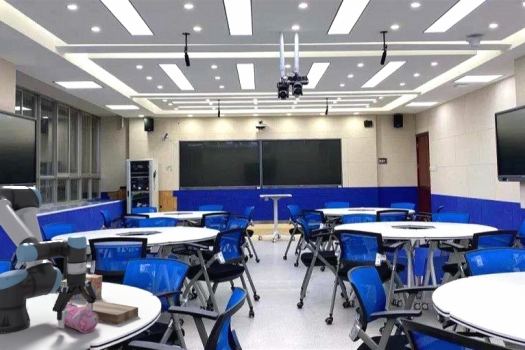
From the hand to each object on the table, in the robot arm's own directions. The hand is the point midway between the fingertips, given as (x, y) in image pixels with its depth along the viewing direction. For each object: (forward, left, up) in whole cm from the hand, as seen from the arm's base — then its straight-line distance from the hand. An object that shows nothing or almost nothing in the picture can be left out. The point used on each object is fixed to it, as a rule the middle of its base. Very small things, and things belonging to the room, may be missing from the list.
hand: (75, 322), depth 167 cm
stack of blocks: (+35, +39, -3) cm, 52 cm away
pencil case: (+1, 0, -3) cm, 3 cm away
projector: (+48, +66, -3) cm, 82 cm away
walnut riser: (+18, 0, -2) cm, 18 cm away
